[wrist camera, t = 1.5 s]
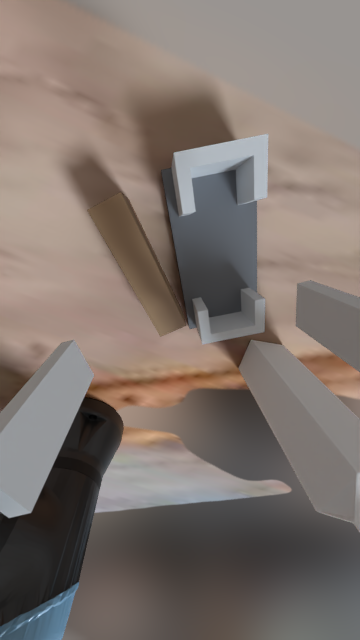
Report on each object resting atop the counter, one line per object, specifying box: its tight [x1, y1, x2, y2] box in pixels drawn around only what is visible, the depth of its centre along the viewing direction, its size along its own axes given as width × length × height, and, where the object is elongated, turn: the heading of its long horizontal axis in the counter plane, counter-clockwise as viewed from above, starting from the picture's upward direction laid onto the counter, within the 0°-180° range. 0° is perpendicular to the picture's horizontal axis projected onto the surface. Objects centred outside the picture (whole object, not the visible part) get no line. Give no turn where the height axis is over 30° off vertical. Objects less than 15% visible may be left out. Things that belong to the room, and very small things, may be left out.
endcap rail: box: [161, 134, 268, 344], centre depth 22 cm, size 10×19×6 cm, turn 10°
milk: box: [239, 340, 360, 532], centre depth 23 cm, size 6×6×22 cm
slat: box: [87, 192, 186, 337], centre depth 23 cm, size 4×15×5 cm, turn 24°
